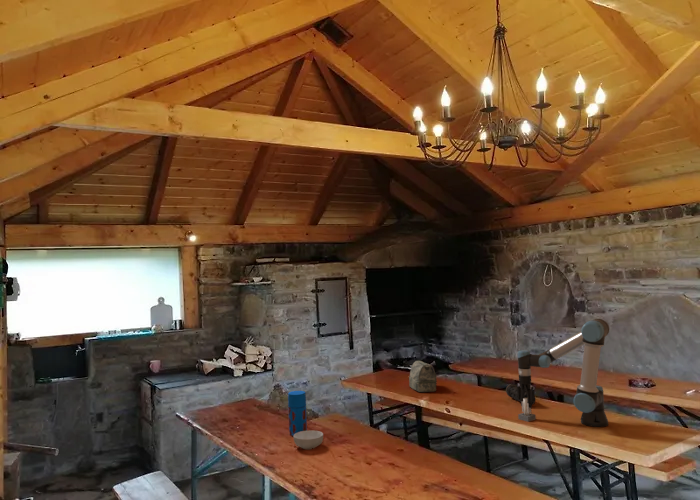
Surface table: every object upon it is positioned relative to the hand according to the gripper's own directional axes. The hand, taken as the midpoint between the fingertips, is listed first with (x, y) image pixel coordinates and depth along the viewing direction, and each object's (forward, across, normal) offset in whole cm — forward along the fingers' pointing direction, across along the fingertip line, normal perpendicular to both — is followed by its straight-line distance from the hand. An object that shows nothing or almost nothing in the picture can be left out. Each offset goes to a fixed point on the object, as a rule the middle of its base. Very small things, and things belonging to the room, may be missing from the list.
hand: (526, 411), depth 326 cm
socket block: (+5, 0, 0) cm, 5 cm away
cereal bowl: (+5, -44, -134) cm, 141 cm away
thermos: (+5, -69, -128) cm, 145 cm away
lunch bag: (+5, -105, +4) cm, 105 cm away
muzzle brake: (+5, -29, +30) cm, 42 cm away
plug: (+5, 0, 0) cm, 5 cm away
